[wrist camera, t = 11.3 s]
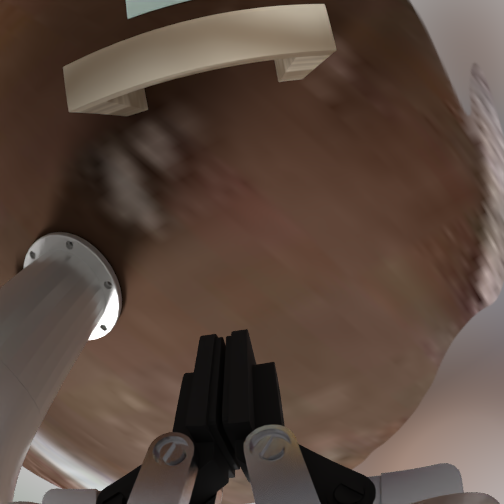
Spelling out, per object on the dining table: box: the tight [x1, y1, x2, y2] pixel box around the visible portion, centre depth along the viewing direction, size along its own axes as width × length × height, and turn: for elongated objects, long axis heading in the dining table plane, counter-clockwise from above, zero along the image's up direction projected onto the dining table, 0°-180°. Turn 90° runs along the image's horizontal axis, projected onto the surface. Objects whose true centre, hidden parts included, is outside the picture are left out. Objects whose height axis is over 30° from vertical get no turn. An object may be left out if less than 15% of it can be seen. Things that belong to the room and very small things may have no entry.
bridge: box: [63, 4, 336, 116], centre depth 17 cm, size 3×15×10 cm, turn 100°
